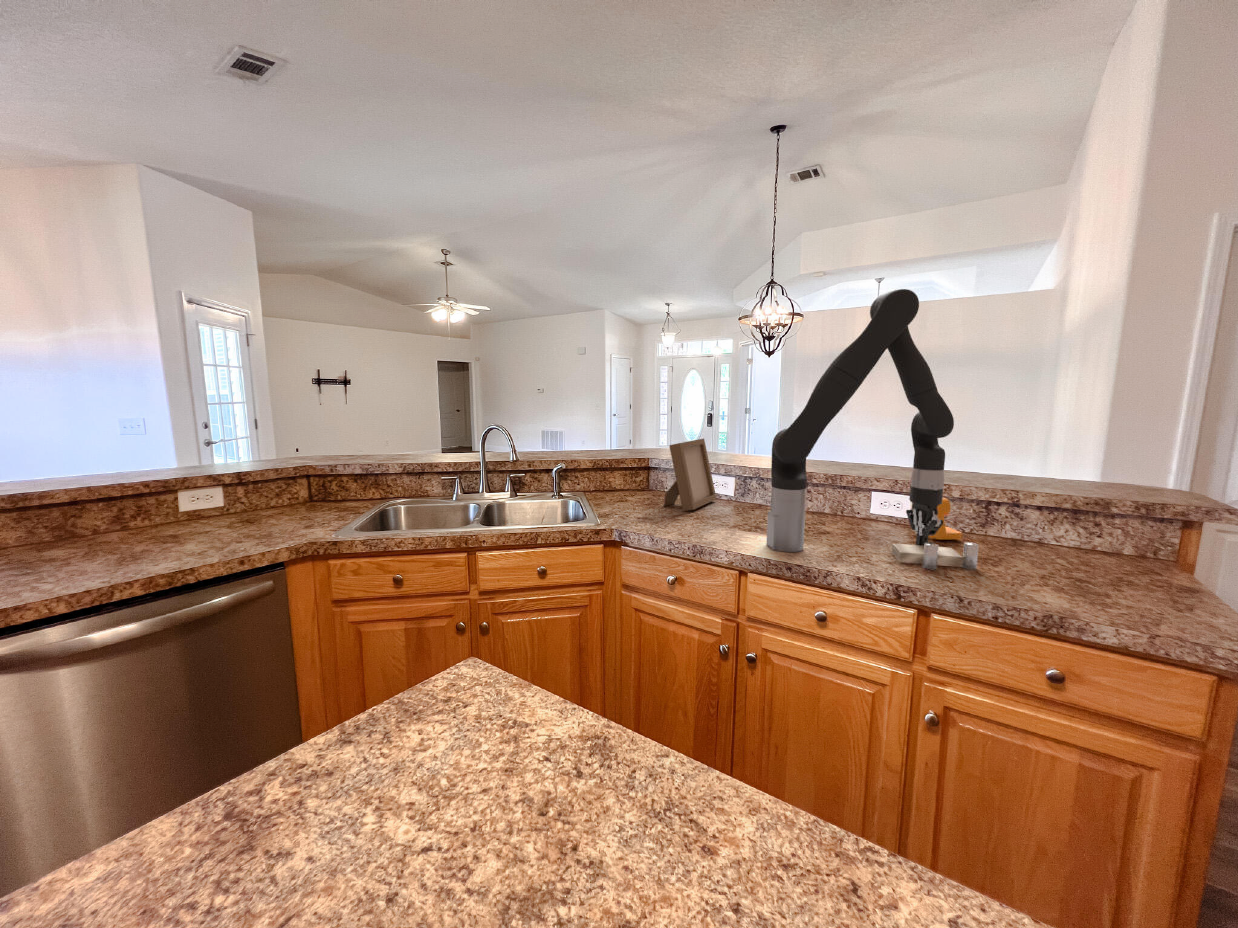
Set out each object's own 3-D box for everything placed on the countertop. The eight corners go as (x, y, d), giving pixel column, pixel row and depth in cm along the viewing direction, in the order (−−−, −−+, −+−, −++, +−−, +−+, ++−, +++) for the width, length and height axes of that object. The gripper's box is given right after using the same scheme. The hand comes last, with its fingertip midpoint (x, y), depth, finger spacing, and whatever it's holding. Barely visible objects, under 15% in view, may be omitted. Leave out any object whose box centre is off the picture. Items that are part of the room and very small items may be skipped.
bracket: (962, 541, 147) (966, 501, 146) (938, 542, 147) (941, 501, 145) (938, 531, 158) (941, 494, 156) (915, 532, 158) (918, 494, 156)
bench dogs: (927, 569, 124) (929, 546, 123) (919, 565, 127) (921, 542, 126) (979, 569, 124) (981, 545, 123) (970, 565, 127) (973, 542, 126)
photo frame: (716, 501, 201) (717, 438, 197) (693, 512, 182) (693, 443, 179) (682, 497, 209) (683, 437, 205) (657, 507, 191) (657, 442, 187)
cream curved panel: (899, 563, 130) (900, 552, 129) (891, 553, 137) (892, 543, 137) (961, 568, 126) (962, 557, 126) (950, 558, 134) (951, 547, 133)
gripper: (898, 481, 141) (893, 541, 143) (928, 490, 128) (922, 556, 130) (925, 481, 141) (919, 541, 143) (957, 490, 128) (951, 556, 130)
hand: (921, 548), depth 137 cm, fingers closed
